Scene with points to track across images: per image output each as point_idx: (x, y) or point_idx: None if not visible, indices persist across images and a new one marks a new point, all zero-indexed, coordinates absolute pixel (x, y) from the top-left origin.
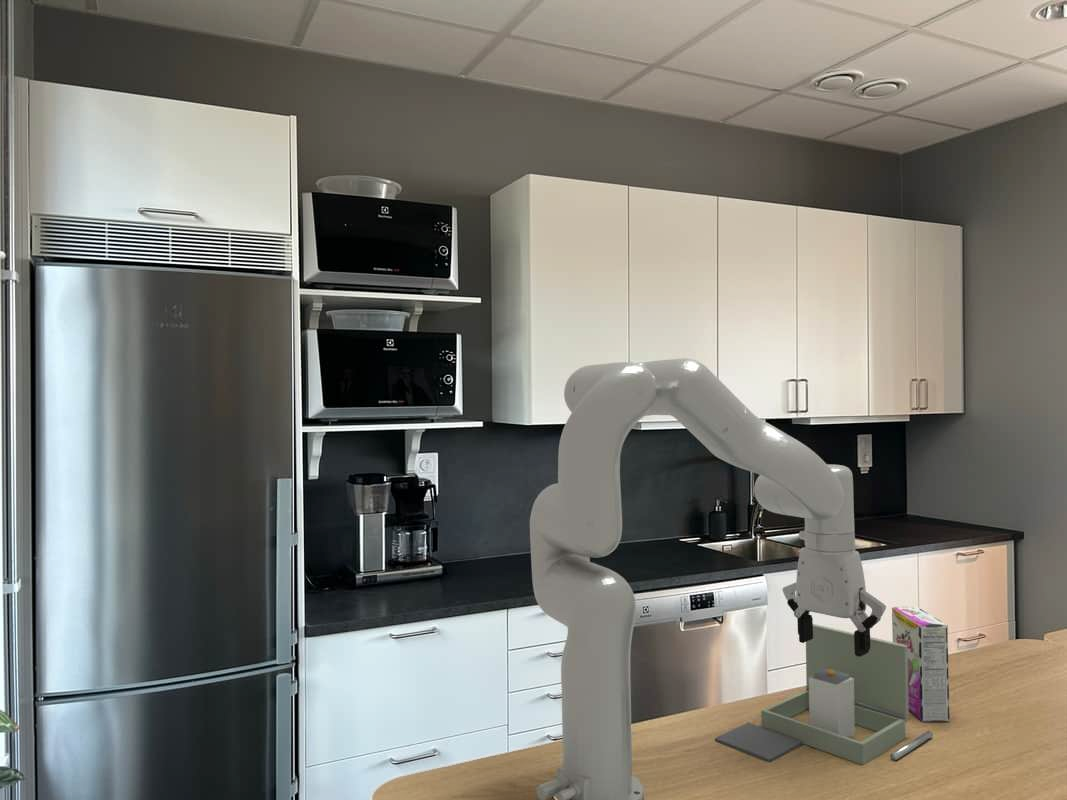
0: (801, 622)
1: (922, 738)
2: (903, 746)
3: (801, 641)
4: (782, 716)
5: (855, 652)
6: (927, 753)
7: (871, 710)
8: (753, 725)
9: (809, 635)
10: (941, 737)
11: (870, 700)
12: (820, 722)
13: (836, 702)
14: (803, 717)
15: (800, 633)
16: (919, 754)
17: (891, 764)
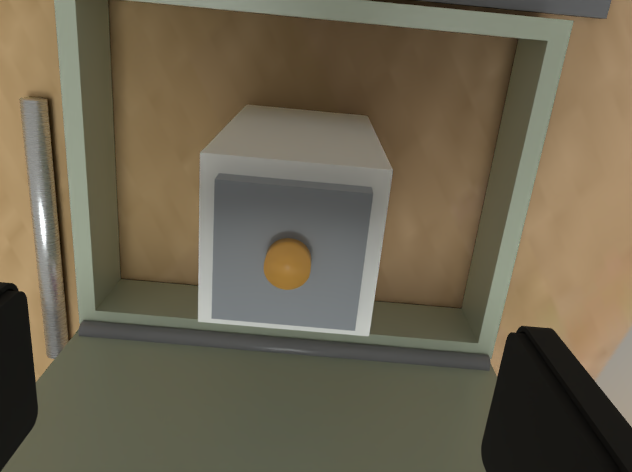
0: (612, 454)
1: (40, 295)
2: (40, 187)
3: (530, 328)
4: (460, 20)
5: (4, 297)
6: (2, 230)
7: (207, 327)
8: (575, 2)
9: (502, 436)
10: (40, 367)
11: (211, 358)
12: (319, 120)
13: (225, 132)
14: (445, 234)
15: (567, 366)
16: (14, 206)
17: (28, 61)
